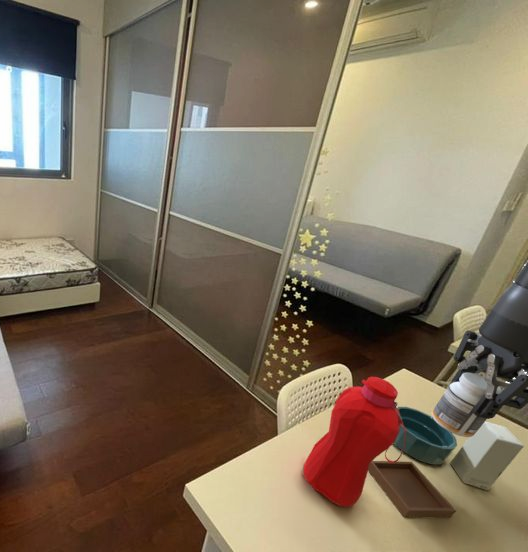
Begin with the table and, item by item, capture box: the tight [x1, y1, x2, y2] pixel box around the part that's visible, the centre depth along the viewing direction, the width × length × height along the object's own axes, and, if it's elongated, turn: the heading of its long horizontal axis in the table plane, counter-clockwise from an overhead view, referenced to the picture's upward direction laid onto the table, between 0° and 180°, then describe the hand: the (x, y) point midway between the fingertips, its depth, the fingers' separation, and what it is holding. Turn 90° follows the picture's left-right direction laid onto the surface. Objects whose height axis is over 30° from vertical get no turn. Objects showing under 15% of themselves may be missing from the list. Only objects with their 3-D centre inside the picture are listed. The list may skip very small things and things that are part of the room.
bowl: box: [393, 406, 458, 465], centre depth 73 cm, size 11×11×6 cm
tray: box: [368, 460, 457, 519], centre depth 62 cm, size 10×10×2 cm
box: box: [450, 420, 525, 491], centre depth 65 cm, size 5×4×13 cm
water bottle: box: [303, 376, 406, 508], centre depth 57 cm, size 9×11×25 cm
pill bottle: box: [431, 373, 502, 438], centre depth 54 cm, size 6×6×10 cm
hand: (467, 401), depth 54 cm, fingers closed on pill bottle, 5 cm apart
